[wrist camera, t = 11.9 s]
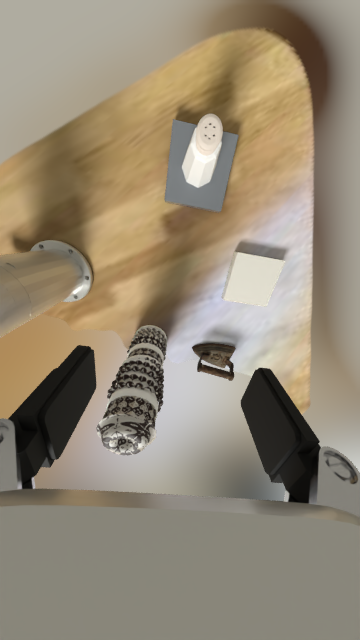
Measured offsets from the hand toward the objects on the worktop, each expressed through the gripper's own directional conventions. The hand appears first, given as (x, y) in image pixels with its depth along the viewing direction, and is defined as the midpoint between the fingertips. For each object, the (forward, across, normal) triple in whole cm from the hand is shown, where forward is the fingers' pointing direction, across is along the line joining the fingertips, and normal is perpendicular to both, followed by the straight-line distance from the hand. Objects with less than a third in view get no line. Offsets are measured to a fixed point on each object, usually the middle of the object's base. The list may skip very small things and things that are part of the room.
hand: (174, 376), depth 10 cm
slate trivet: (+30, -1, -17) cm, 35 cm away
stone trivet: (+30, -16, -1) cm, 34 cm away
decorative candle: (+31, +4, +18) cm, 36 cm away
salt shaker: (+28, -1, -17) cm, 33 cm away
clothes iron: (+31, -12, +20) cm, 38 cm away
